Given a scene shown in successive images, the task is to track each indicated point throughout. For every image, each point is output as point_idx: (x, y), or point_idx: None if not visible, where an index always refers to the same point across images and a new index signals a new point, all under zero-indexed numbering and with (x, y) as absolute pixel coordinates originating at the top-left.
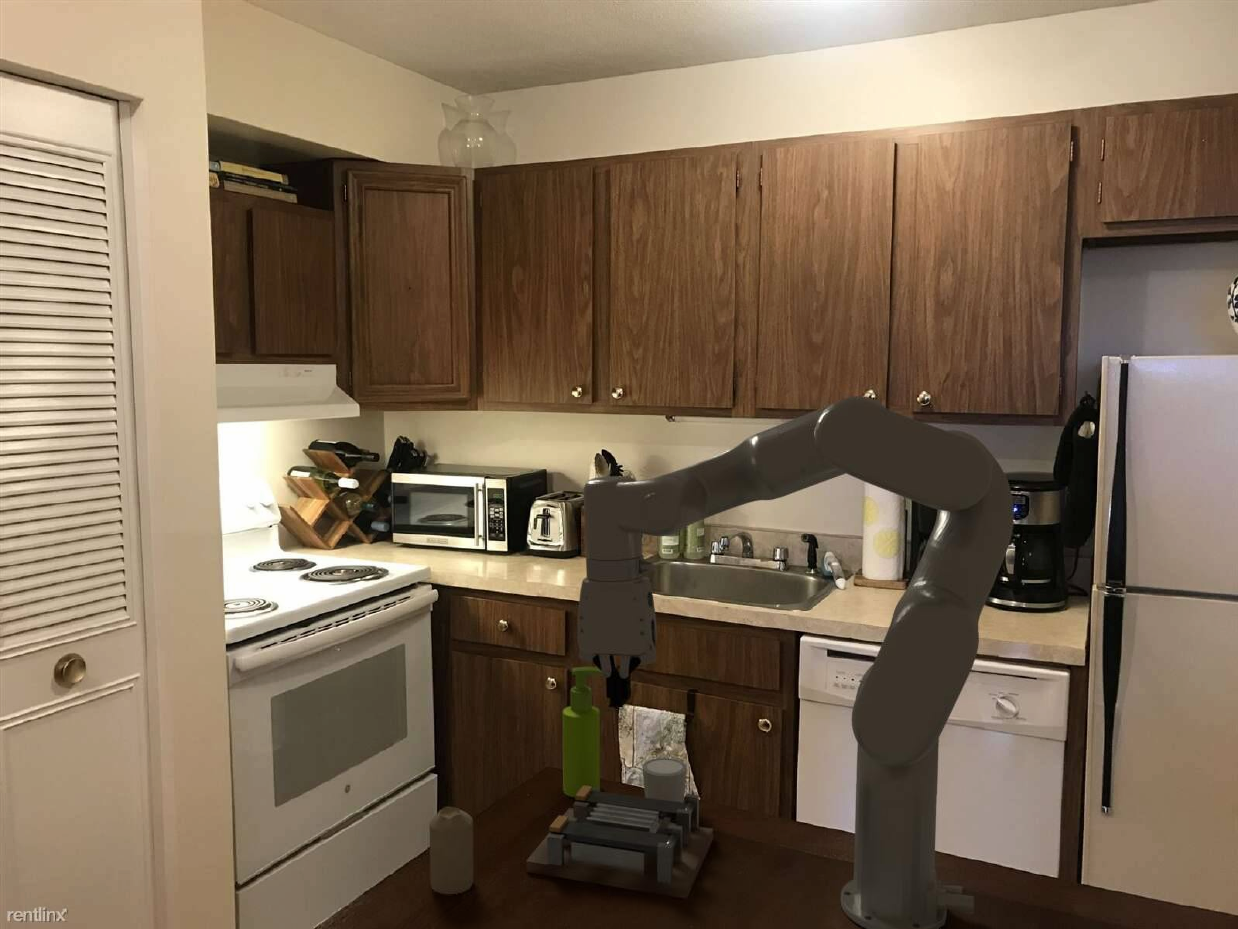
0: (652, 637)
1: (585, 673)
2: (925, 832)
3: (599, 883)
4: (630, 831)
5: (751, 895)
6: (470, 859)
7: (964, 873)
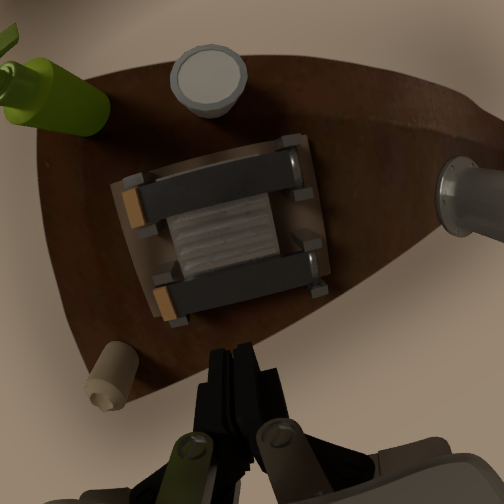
0: (477, 490)
1: None
2: None
3: None
4: (255, 269)
5: (376, 230)
6: (131, 371)
7: (480, 121)
